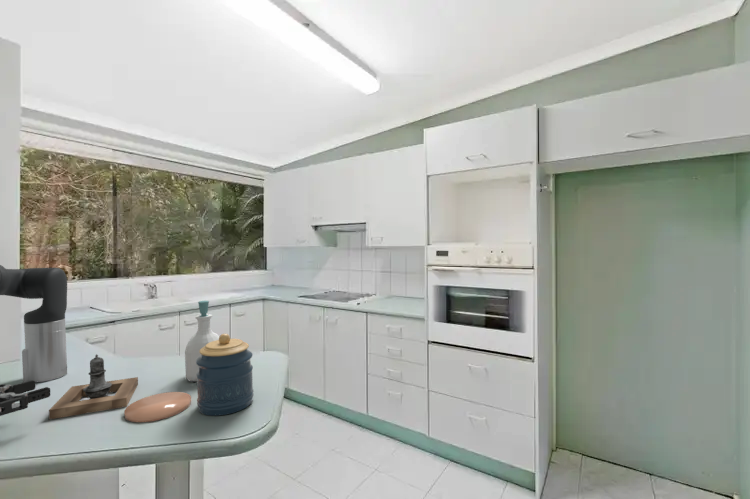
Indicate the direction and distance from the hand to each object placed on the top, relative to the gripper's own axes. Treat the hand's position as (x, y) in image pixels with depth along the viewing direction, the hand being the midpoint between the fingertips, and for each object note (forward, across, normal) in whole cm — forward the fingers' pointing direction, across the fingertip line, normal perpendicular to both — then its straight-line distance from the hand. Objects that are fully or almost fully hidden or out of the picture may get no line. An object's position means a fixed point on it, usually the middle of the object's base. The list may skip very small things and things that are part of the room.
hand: (42, 387), depth 84 cm
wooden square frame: (+11, 0, +7) cm, 13 cm away
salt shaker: (+11, 0, +8) cm, 13 cm away
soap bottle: (+35, -10, +8) cm, 37 cm away
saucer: (+16, -18, +7) cm, 26 cm away
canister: (+25, -31, +8) cm, 41 cm away
